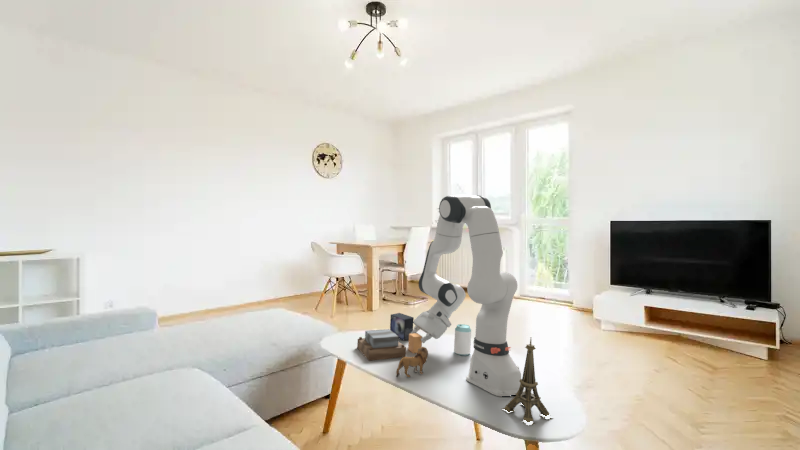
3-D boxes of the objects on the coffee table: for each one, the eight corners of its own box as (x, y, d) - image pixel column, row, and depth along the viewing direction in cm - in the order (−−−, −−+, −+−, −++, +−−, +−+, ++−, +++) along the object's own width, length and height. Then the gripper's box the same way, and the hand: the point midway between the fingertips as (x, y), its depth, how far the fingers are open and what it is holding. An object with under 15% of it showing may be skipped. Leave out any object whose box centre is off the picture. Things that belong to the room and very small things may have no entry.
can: (453, 355, 164) (455, 327, 164) (453, 349, 171) (455, 323, 171) (470, 356, 163) (472, 328, 163) (469, 351, 170) (471, 324, 170)
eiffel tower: (553, 418, 114) (557, 334, 113) (528, 426, 108) (533, 338, 108) (525, 403, 123) (529, 325, 123) (501, 409, 117) (505, 328, 117)
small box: (388, 335, 188) (389, 314, 188) (398, 333, 192) (399, 312, 192) (403, 341, 180) (404, 318, 180) (413, 338, 185) (414, 317, 185)
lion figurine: (420, 367, 148) (422, 344, 148) (430, 372, 144) (431, 348, 144) (391, 376, 139) (392, 351, 139) (401, 381, 135) (402, 355, 135)
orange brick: (421, 352, 166) (422, 336, 166) (412, 353, 164) (413, 337, 164) (416, 348, 170) (417, 333, 170) (408, 349, 169) (408, 333, 169)
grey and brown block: (405, 357, 159) (406, 337, 159) (368, 360, 153) (369, 340, 153) (391, 344, 174) (392, 327, 174) (357, 347, 167) (358, 329, 167)
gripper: (423, 305, 180) (403, 327, 176) (445, 316, 161) (422, 340, 157) (431, 314, 182) (411, 336, 178) (453, 326, 163) (431, 350, 159)
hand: (416, 338), depth 168 cm, fingers open, 8 cm apart
